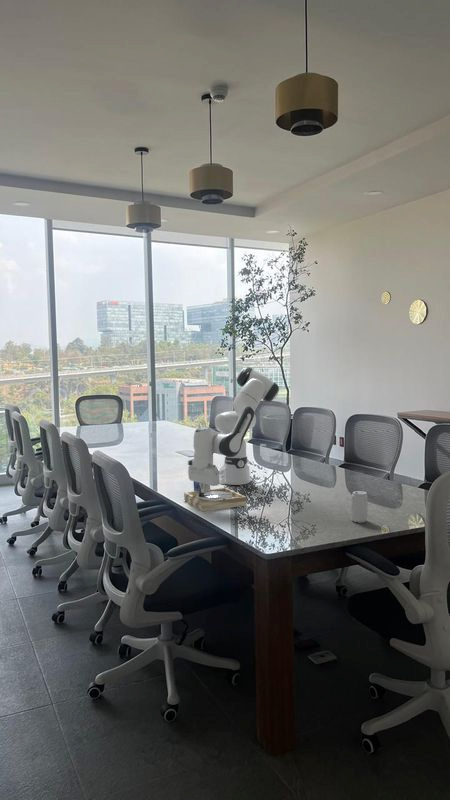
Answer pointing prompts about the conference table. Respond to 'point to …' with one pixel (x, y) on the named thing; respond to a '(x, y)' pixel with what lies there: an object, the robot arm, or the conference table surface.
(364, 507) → the beverage can
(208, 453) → the robot arm
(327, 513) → the conference table surface
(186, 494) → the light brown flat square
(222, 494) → the dial
